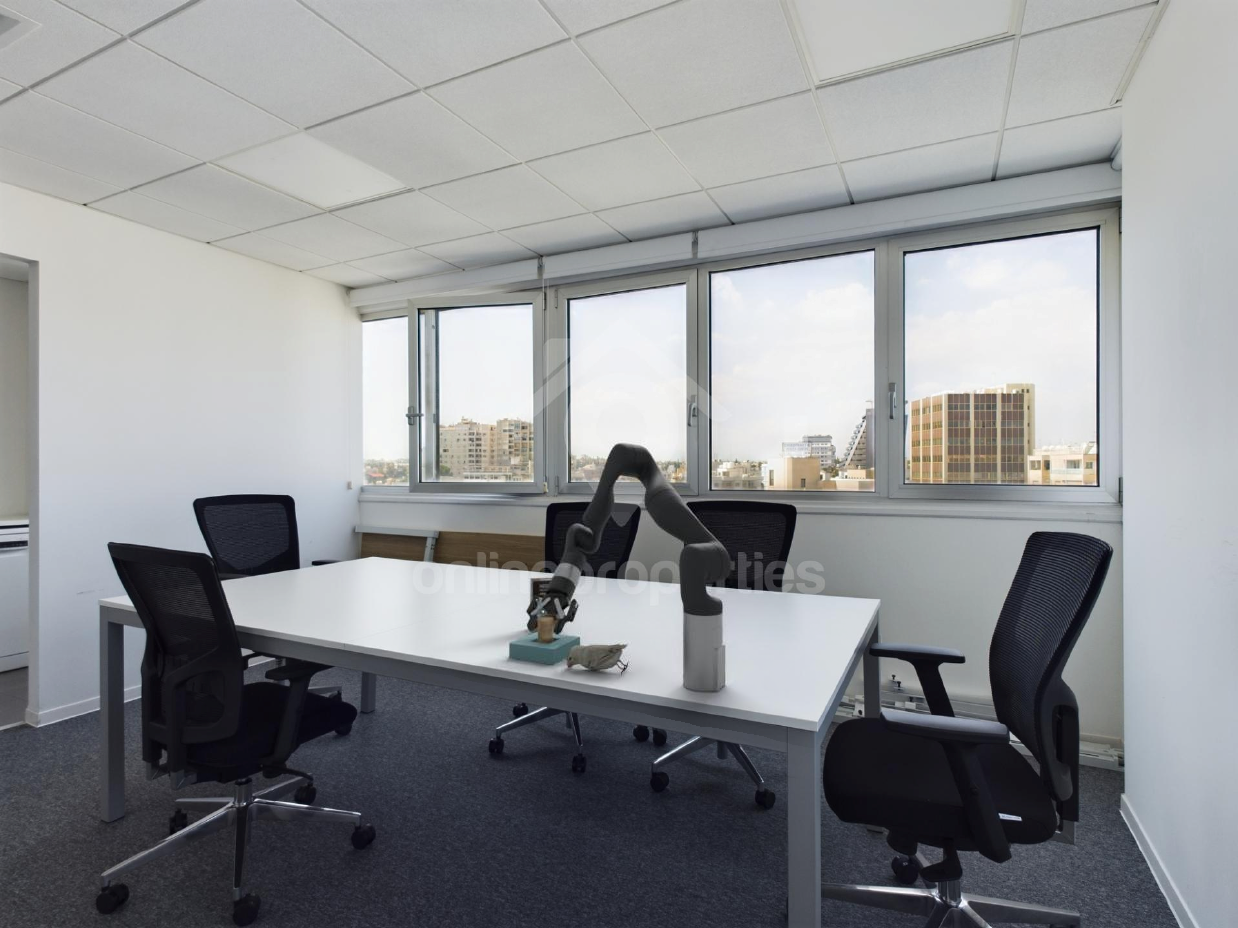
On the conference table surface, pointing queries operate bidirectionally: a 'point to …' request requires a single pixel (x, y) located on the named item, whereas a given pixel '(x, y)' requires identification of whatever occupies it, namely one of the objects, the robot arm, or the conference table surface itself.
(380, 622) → the conference table surface
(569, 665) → the decorative bird
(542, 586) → the coffee box
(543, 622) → the peg
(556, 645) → the socket block
